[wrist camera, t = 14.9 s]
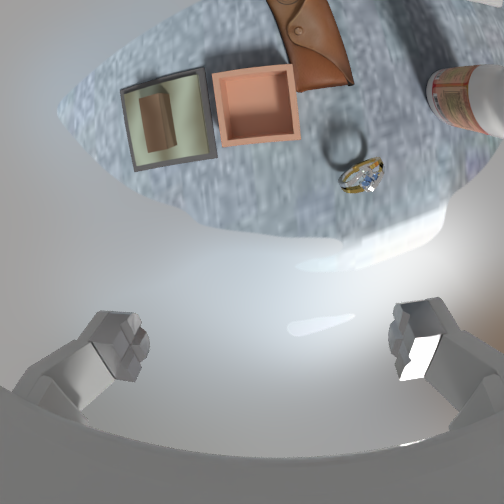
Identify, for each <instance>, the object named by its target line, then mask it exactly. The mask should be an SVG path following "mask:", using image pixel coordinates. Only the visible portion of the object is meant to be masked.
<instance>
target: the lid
mask: <svg viewBox="0 0 504 504" xmlns="http://www.w3.org/2000/svg"><path fill="white" fill-rule="evenodd" d="M124 99H125V106H126V112H127V118H128V124H129V130H130V136H131V141H132V146H133V151H134V156H135V161H136V166H140V165H145V164H150V163H155V162H160V161H165V160H171V159H176V158H182V157H188V156H194V155H201V154H208V153H210V149H209V143H208V137H207V130H206V123H205V117H204V110H203V103H202V96H201V89H200V82H199V75H192V76H188V77H183V78H179V79H175V80H171V81H167V82H163V83H160V84H156V85H153V86H149V87H146V88H142V89H139V90H136V91H133V92H130V93H127V94H124Z"/></svg>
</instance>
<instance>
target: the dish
mask: <svg viewBox="0 0 504 504" xmlns="http://www.w3.org/2000/svg"><path fill="white" fill-rule="evenodd" d="M212 79H213V86H214V93H215V100H216V108H217V115H218V122H219V128H220V135H221V142H222V147H228V146H236V145H245V144H254V143H265V142H276V141H289V140H301V135H300V125H299V115H298V106H297V97H296V88H295V80H294V73H293V65H292V64H283V65H271V66H261V67H253V68H245V69H238V70H231V71H225V72H219V73H213V74H212Z"/></svg>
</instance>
